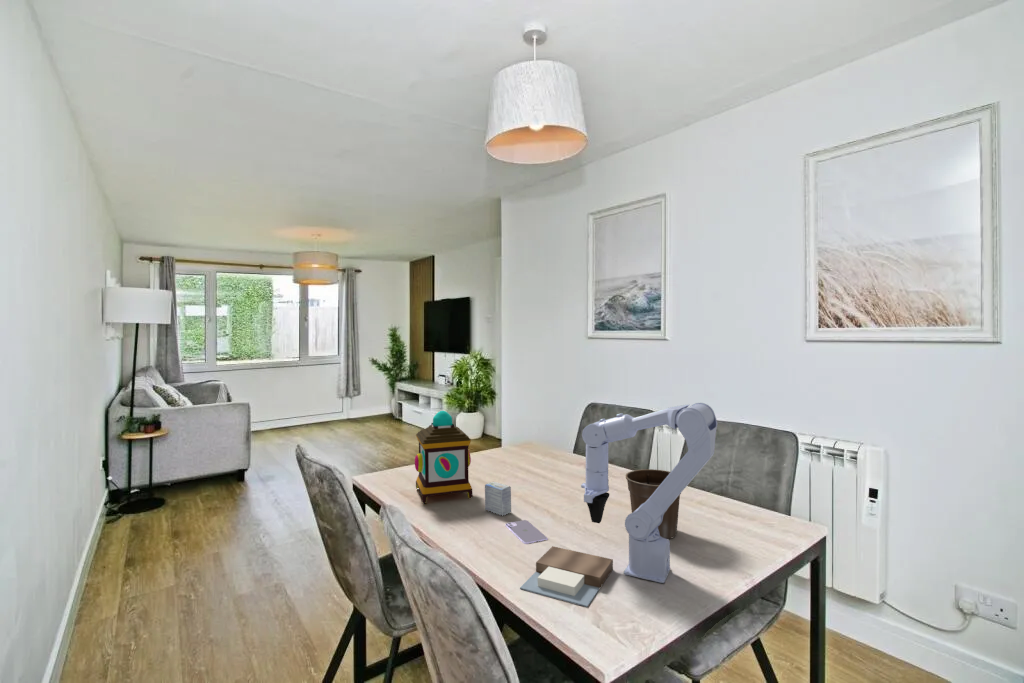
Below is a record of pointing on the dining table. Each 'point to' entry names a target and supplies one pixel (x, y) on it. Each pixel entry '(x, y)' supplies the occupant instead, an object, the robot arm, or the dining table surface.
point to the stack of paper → (498, 498)
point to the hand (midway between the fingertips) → (596, 521)
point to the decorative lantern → (442, 458)
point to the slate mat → (580, 598)
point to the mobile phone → (525, 531)
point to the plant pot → (643, 488)
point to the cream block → (561, 581)
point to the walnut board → (577, 564)
